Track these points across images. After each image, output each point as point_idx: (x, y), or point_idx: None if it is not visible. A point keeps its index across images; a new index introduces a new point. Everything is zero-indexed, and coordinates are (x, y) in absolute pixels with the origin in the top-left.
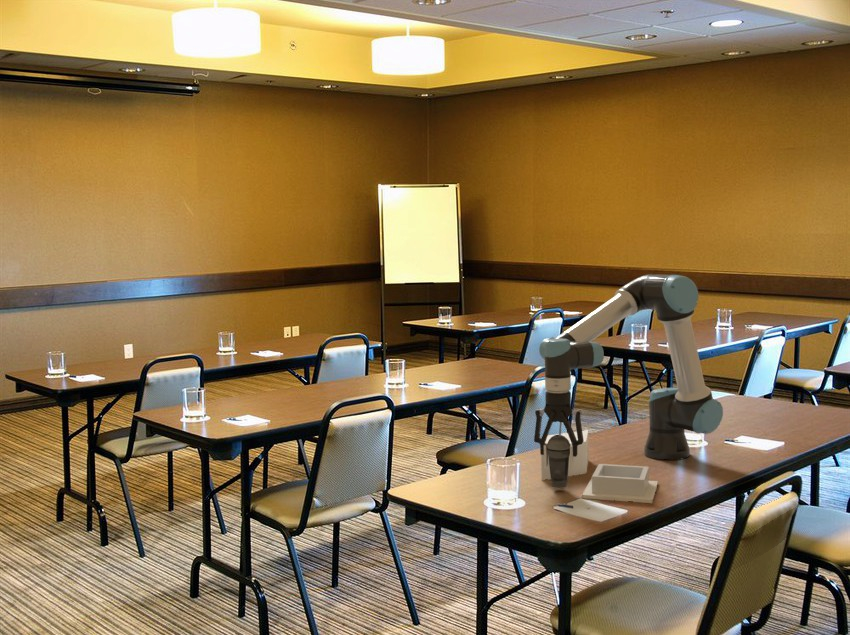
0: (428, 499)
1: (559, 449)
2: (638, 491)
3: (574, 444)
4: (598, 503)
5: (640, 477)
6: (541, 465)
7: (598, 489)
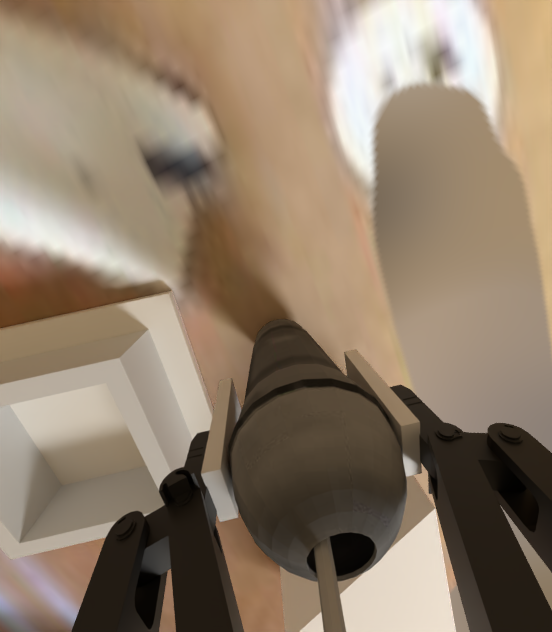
0: None
1: (279, 401)
2: None
3: (179, 495)
4: (88, 257)
5: None
6: None
7: (118, 340)
